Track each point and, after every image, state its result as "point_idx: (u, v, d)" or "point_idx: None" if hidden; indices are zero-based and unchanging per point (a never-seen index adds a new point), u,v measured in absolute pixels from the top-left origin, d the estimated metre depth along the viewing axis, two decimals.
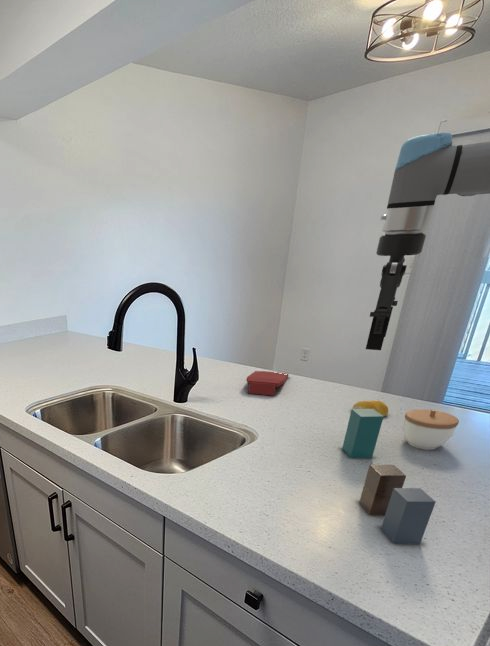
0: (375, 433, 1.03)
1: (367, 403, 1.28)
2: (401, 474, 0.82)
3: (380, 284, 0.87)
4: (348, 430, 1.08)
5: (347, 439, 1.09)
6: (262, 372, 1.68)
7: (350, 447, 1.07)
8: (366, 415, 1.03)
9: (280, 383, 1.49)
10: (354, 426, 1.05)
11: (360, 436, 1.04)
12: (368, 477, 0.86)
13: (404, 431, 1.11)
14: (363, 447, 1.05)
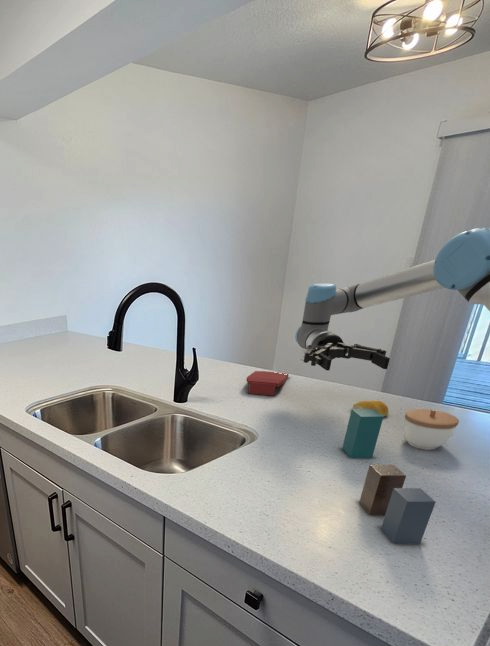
0: (375, 433, 1.03)
1: (367, 403, 1.28)
2: (401, 474, 0.82)
3: None
4: (348, 430, 1.08)
5: (347, 439, 1.09)
6: (262, 372, 1.68)
7: (350, 447, 1.07)
8: (366, 415, 1.03)
9: (280, 383, 1.49)
10: (354, 426, 1.05)
11: (360, 436, 1.04)
12: (368, 477, 0.86)
13: (404, 431, 1.11)
14: (363, 447, 1.05)
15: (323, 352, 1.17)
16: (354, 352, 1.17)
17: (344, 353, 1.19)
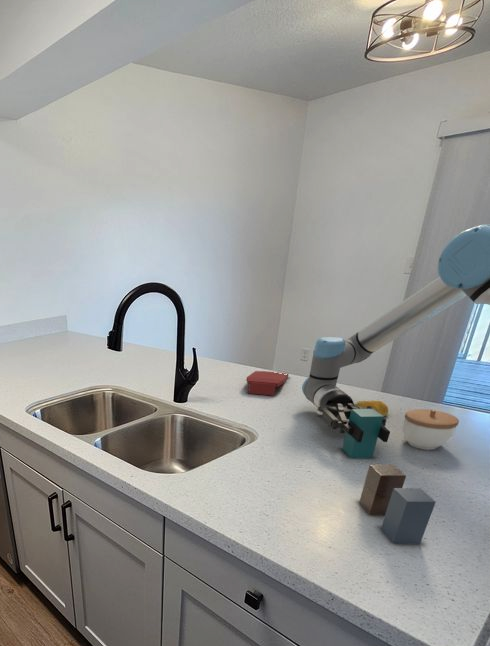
0: (375, 433, 1.03)
1: (367, 403, 1.28)
2: (401, 474, 0.82)
3: None
4: None
5: (346, 439, 1.09)
6: (262, 372, 1.68)
7: (350, 447, 1.07)
8: (366, 415, 1.03)
9: (280, 383, 1.49)
10: None
11: None
12: (368, 477, 0.86)
13: (404, 431, 1.11)
14: (363, 447, 1.05)
15: None
16: None
17: None
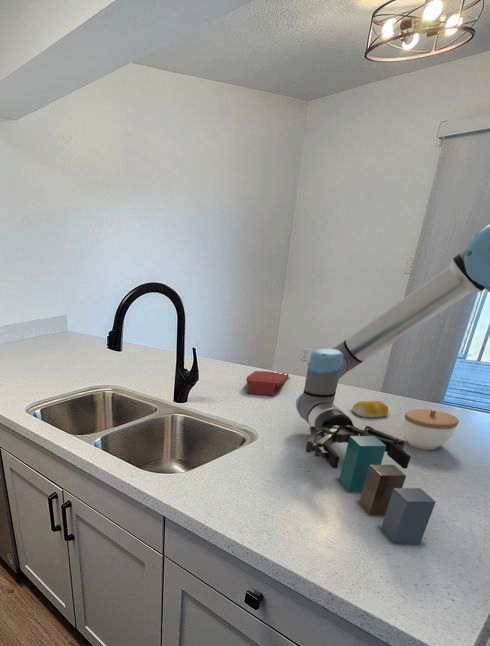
0: (377, 464, 0.90)
1: (367, 403, 1.28)
2: (401, 474, 0.82)
3: None
4: (346, 459, 0.95)
5: (344, 469, 0.95)
6: (262, 372, 1.68)
7: (348, 479, 0.93)
8: (367, 444, 0.89)
9: (280, 383, 1.49)
10: (353, 456, 0.92)
11: (359, 467, 0.91)
12: (368, 477, 0.86)
13: (404, 431, 1.11)
14: (363, 480, 0.92)
15: (329, 439, 0.98)
16: None
17: None
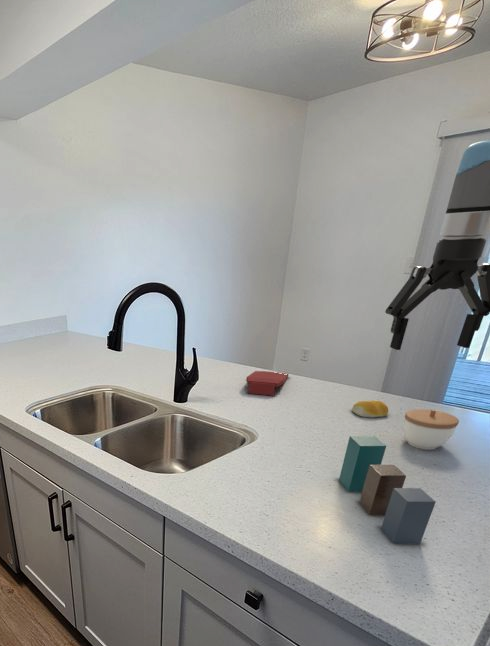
0: (377, 464, 0.90)
1: (367, 403, 1.28)
2: (401, 474, 0.82)
3: None
4: (346, 459, 0.95)
5: (344, 469, 0.95)
6: (262, 372, 1.68)
7: (348, 479, 0.93)
8: (367, 444, 0.89)
9: (280, 383, 1.49)
10: (353, 456, 0.92)
11: (359, 467, 0.91)
12: (368, 477, 0.86)
13: (404, 431, 1.11)
14: (363, 480, 0.92)
15: None
16: (465, 293, 0.88)
17: None
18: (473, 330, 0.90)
